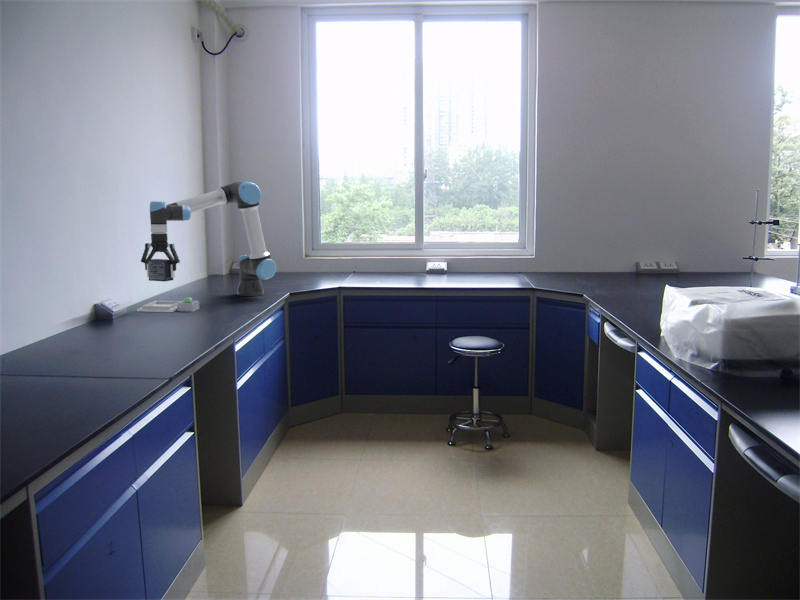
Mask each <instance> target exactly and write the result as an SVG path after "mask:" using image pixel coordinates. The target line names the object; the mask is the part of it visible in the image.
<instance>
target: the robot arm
mask: <svg viewBox="0 0 800 600" xmlns="http://www.w3.org/2000/svg"><path fill="white" fill-rule="evenodd" d="M261 197H262V191H261V189H260V187H259V186H258V185H257V184H256V183H254V182H251V181H234V182H231V183H228V184H226V185H223V186H220V187H217V189H216V190H213V191H211V192H206V193H203V194H199V195H196V196H193V197H189V198H185V199H182V200H177V201H175V202H172V203H168V204H167V202H166V201H161V200H160V201H157V200H156V201H155V200H154V201H150V203H149V219H150V220H149V221H150V233H151V234H150V240H151V242H150V243H149V242H148V243H145V244H144V250H143V253H142V256H141V259H140V263H143V264H144V268H145V269H144V270H145V271H146V272H147V273H146V276H147V278H149V272H148V260H150V259H153V257H154V255H155V254H156V253H164V254H165V256H166V257H167V260H170V261H171V263H172V264H171V278H173V279H174V278H175V277H176V271H177V264H179V263H181V262H180V261H181V260H180V259H179V256H178V253H177V251H176V248H175V244H174V243H168V233H167V232H168V222H171V221H172V222H173V221H175V222H176V221H179V222H180V221H181V222H182V221H183V222H185V221H189V220H190V219H191V217H192V213H195V212H198V211H201V210H206V209H209V208H212V207H215V206H219V205H222V206H225V205H229V204H236V205H237V209H238V210H239V211H241V214H242V220H243V222H244V223H243V224H244V227H245V228H244V229H245V232H246V237H247V242H248V247H249V250H250V254H243V255H240V256H239V261H238V265H239V266H238V267H239V269H238V270H239V282H238V286H237V290H236V295H237V296H240V297H258V296H263V295H264V294H265V290H264V286H263V283H262V281H261V280H269V279H271V278H273V277H274V275H275V274H276V272H277V263H276V262H275V261H274V260H273V259H272V257H271V256H272V255H271V253H270V251H268V250H267V247H266V243H265V238H264V233H263V227H262V223H261V219H260V214H259V207H260V206H261V205H260V200H261ZM151 248H152V249H151ZM150 249H151V251H150ZM169 250H170V251H169ZM149 251H150V253H149ZM170 252H171V253H170Z"/></svg>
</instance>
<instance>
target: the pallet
mask: <svg viewBox="0 0 800 600" xmlns="http://www.w3.org/2000/svg"><path fill="white" fill-rule="evenodd" d="M181 301H182V300H154V301H151V302H148V303H145V304H144V305H141V307H139V308H137V309H136V312H150V313H151V312H152V313H153V312H155V313H157V312H158V313H173V312H174V311H175V312H176V311H177V303H179V302H181ZM175 312H174V313H175ZM177 312H178V311H177Z"/></svg>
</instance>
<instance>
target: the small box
mask: <svg viewBox="0 0 800 600" xmlns="http://www.w3.org/2000/svg"><path fill="white" fill-rule="evenodd" d="M171 264H172V263H171V261H170V260H169V259H168V258H167V259H166V258H165V259H162V258H161V259H160V258H152V259H150V260H148V272H149V277H148V281H151V282H164V283H165V282H171V281H174V277H173V278H171Z"/></svg>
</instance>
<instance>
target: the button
mask: <svg viewBox="0 0 800 600" xmlns="http://www.w3.org/2000/svg"><path fill="white" fill-rule="evenodd" d="M183 300H184V303H192V301H193V298H192V297H184V298H183Z"/></svg>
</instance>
